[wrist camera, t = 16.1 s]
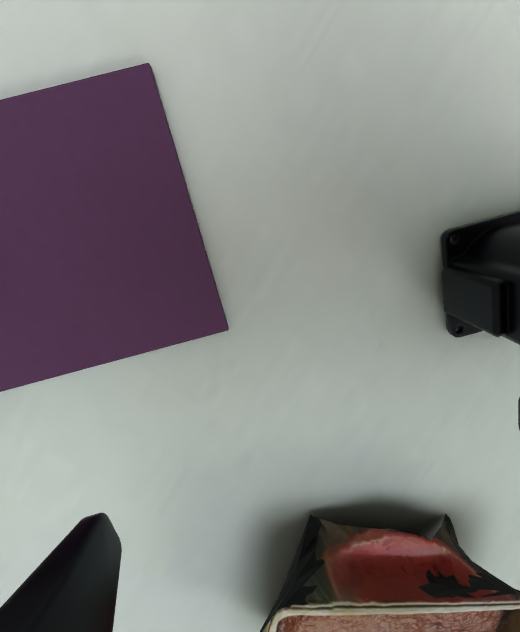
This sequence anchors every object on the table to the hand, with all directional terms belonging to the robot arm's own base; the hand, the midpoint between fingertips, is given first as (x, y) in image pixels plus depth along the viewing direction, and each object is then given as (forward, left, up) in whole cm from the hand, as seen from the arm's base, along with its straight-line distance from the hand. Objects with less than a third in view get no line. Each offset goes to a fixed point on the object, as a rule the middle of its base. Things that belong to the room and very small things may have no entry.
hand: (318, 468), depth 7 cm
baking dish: (-2, +23, -13) cm, 27 cm away
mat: (+12, -6, -13) cm, 19 cm away
